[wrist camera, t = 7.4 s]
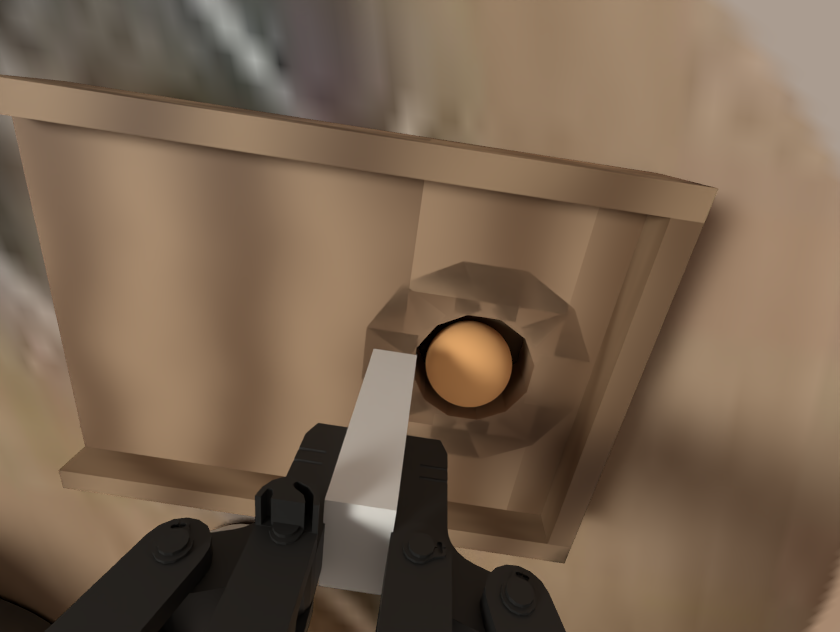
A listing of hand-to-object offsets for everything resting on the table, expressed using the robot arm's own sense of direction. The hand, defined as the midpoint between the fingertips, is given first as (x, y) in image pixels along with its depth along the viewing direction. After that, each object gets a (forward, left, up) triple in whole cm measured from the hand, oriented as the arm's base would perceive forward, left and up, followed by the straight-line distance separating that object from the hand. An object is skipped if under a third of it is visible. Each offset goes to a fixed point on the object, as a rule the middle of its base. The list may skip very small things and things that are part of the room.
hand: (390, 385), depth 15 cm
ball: (+3, 0, -3) cm, 4 cm away
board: (-3, 0, -4) cm, 5 cm away
